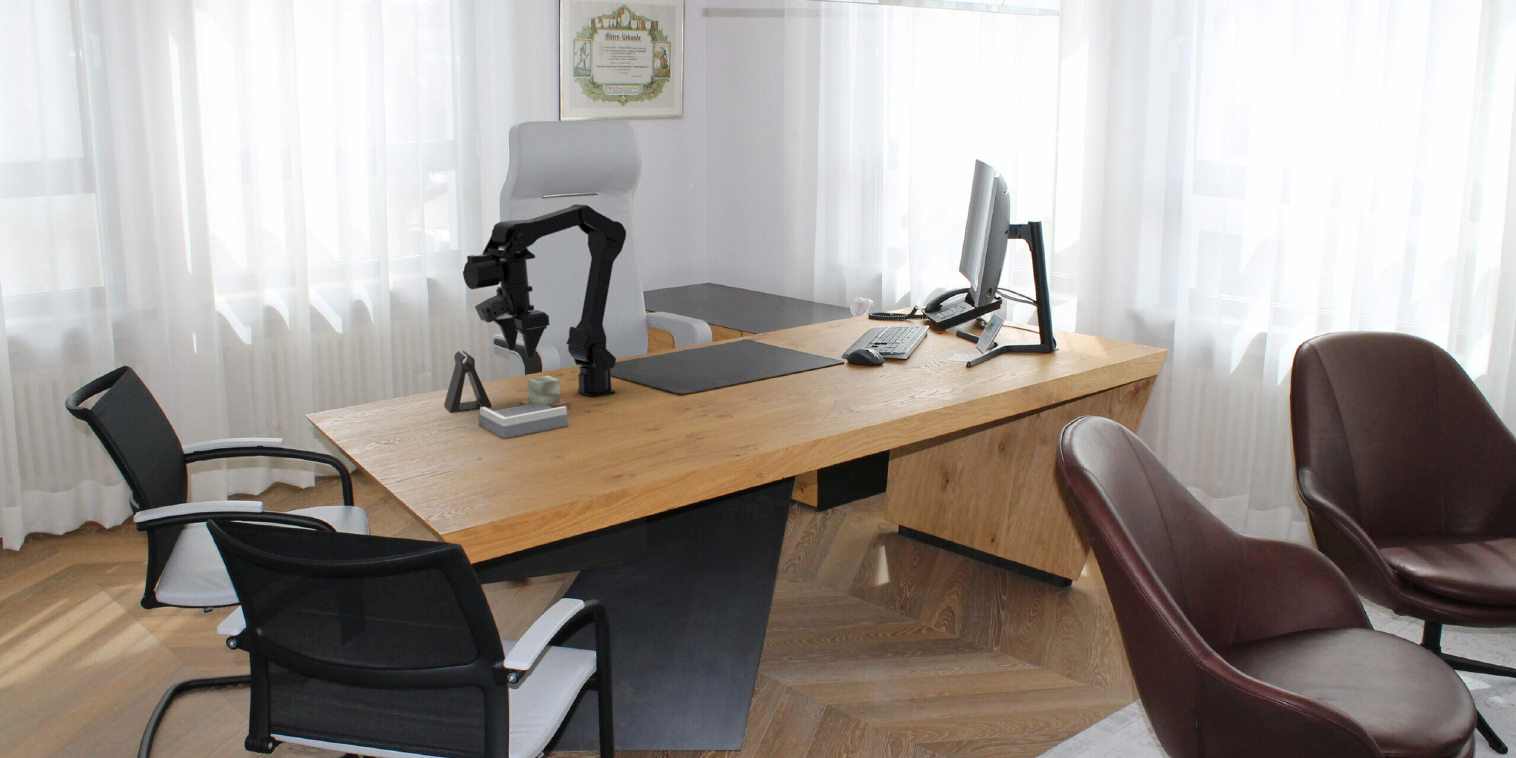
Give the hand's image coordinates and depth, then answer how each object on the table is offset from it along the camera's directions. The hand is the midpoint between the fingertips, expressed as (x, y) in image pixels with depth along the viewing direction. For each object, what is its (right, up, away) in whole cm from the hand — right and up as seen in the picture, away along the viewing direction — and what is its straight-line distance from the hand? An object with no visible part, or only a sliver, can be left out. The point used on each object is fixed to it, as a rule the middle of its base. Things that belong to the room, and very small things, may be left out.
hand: (520, 353), depth 234 cm
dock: (+3, -15, -9) cm, 18 cm away
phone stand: (-13, -12, +5) cm, 18 cm away
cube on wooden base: (+4, -12, +4) cm, 13 cm away
